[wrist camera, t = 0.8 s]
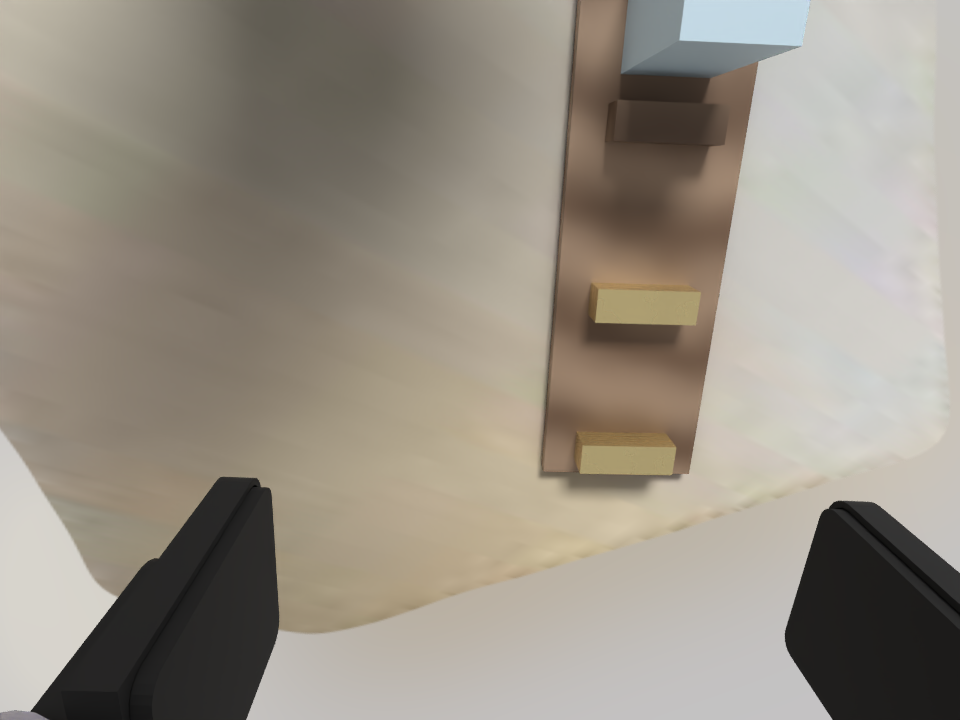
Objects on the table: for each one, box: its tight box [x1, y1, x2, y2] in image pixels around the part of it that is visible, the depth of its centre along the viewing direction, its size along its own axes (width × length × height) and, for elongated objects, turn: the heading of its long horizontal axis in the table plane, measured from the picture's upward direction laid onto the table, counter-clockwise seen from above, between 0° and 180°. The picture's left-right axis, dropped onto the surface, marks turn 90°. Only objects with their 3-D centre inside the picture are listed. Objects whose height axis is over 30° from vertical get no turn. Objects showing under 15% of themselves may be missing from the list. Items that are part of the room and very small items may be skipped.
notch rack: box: [542, 0, 758, 475], centre depth 34 cm, size 34×10×3 cm, turn 178°
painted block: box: [621, 0, 810, 78], centre depth 27 cm, size 5×5×9 cm
